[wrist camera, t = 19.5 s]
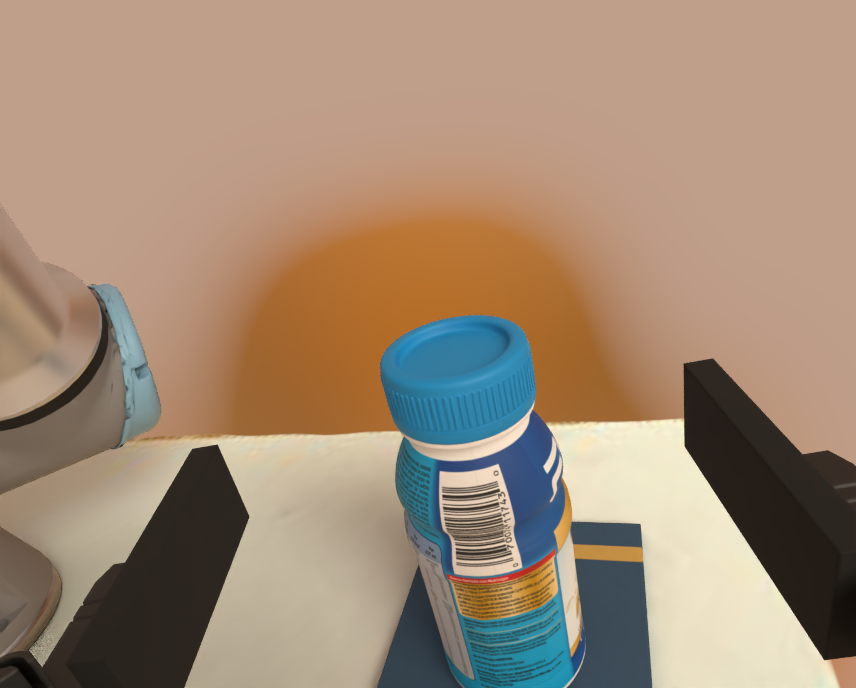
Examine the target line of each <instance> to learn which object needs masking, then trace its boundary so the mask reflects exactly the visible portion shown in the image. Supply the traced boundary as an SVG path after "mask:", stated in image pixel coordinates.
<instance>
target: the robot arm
mask: <svg viewBox="0 0 856 688" xmlns="http://www.w3.org/2000/svg"><path fill="white" fill-rule="evenodd" d="M160 416H161V404H160V400H159V396H158V392H157V389H156V385H155V382H154V380H153V376H152V373H151V371H150V369H149V367H148V362H147V359H146V357H145V352H144V349H143V346H142V344H141V341H140V338H139V335H138V333H137V330H136V327H135V325H134V322H133V320H132V317H131V315H130V312H129V310H128V308H127V305H126V303H125V301H124V299H123V297H122V295H121V293H120V291H118V289H117V288H116V287H114V286H112V285H109V284H103V285H94V284H92V285H90V286H86V285H85V284H84V283H83V281H82V280H81V279H79V278H78V277H76V276H75V275H74V274H73V273H71V272H69V271H67V270H65V269H63V268H60V267H58V266H55V265H52V264H49V263H44V262H41V261H40V260H39V259H38V258H37V256H36V255H35V253H34V252H33V250H32V249H31V247H30V246H29V244H28V243H27V241H26V240H25V238H24V237H23V235H22V234H21V232H20V231H19V229H18V228H17V227H16V225H15V224H14V222H13V221H12V219H11V218H10V216H9V215H8V213H7V212H6V210H5V209H4V207H3V206H2V204H1V203H0V494H2V493H5V492H7V491H10V490H12V489H14V488H17V487H19V486H22V485H24V484H26V483H29V482H31V481H34V480H36V479H38V478H41V477H43V476H46V475H48V474H50V473H53V472H55V471H57V470H60V469H62V468H65V467H67V466H69V465H72V464H74V463H77V462H79V461H81V460H84V459H86V458H89V457H91V456H93V455H96V454H98V453H101V452H103V451H105V450H108V449H117V448H120V447H122V446H123V445H124V444H125V443H126V442H127V441H129V440H131V439H133V438H135V437H137V436H139V435H141V434H143V433H145V432H148V431H149V430H151V429H152V428H153V427H154V426H155V425H156V424H157V423H158V421H159V419H160ZM684 436H685V448H686V449H687V451H688V452H689V454H690V455H691V457H692V458H693V460H694V461H695V463H696V464H697V466H698V468H699V469H700V471H701V472H702V474H703V475H704V477H705V478H706V480H707V481H708V483H709V484H710V486H711V487H712V489H713V491H714V492H715V494H716V495H717V497H718V498H719V500H720V501H721V503H722V504H723V506H724V507H725V509H726V510H727V512H728V513H729V515H730V517H731V518H732V520H733V521H734V523H735V524H736V526H737V527H738V529H739V530H740V532H741V533H742V535H743V536H744V538H745V539H746V541H747V543H748V544H749V546H750V547H751V549H752V550H753V552H754V553H755V555H756V556H757V558H758V559H759V561H760V562H761V564H762V566H763V567H764V569H765V570H766V572H767V573H768V575H769V576H770V578H771V579H772V581H773V582H774V584H775V585H776V587H777V588H778V590H779V592H780V593H781V595H782V596H783V598H784V599H785V601H786V602H787V604H788V605H789V607H790V608H791V610H792V611H793V613H794V614H795V616H796V618H797V619H798V621H799V622H800V624H801V625H802V627H803V628H804V630H805V631H806V633H807V634H808V636H809V637H810V639H811V641H812V642H813V644H814V645H815V647H816V648H817V650H818V651H819V653H820V654H821V656H822V657H823V659H824V660H830V659H837V658H845V657H853V656H856V466H855V465H854V464H853V463H851V462H849V461H847V460H845V459H843V458H841V457H839V456H837V455H836V454H834V453H832V452H830V451H821V452H815V453H809V454H801V452H800V451H799V450H798V449H797V448H796V447H795V446H794V445H793V444H792V443H791V442H790V441H789V440H788V439H787V437H786V436H785V435H784V434H783V433H782V432H781V431H780V430H779V429H778V428H777V427H776V426H775V425H774V423H773V422H772V421H771V420H770V419H769V418H768V417H767V416H766V415H765V414H764V413H763V412H762V411H761V409H760V408H759V407H758V406H757V405H756V404H755V403H754V402H753V401H752V400H751V399H750V398H749V397H748V396H747V394H745V392H744V391H743V390H742V389H741V388H740V387H739V386H738V385H737V384H736V383H735V382H734V381H733V379H732V378H730V376H729V375H728V374H727V373H726V372H725V371H724V370H723V369H722V368H721V367H720V366H719V365H718V364H717V362H716V361H715V360H714V359H707V360H702V361H697V362H690V363H684ZM248 519H249V515H248V512H247V510H246V508H245V506H244V503H243V501H242V499H241V496H240V494H239V492H238V490H237V487H236V485H235V483H234V481H233V478H232V476H231V474H230V472H229V469H228V467H227V465H226V463H225V460H224V458H223V456H222V454H221V451H220V449H219V447H218V445H212V446H206V447H201V448H195V449H192V450H191V452H190V454H189V455H188V457H187V459H186V460H185V462H184V464H183V465H182V467H181V469H180V471H179V472H178V474H177V476H176V477H175V479H174V481H173V482H172V484H171V486H170V487H169V489H168V491H167V493H166V494H165V496H164V498H163V499H162V501H161V503H160V504H159V506H158V508H157V509H156V511H155V513H154V515H153V516H152V518H151V520H150V521H149V523H148V525H147V526H146V528H145V530H144V532H143V533H142V535H141V537H140V538H139V540H138V542H137V543H136V545H135V547H134V548H133V550H132V552H131V554H130V555H129V557H128V559H127V560H126V562H125V563H120V564H114V565H113V566H112V567H111V568H110V569H109V570H108V571H107V572H106V573H105V574H104V575H103V576H102V577H101V578H100V579H98V580H97V581H96V582H95V584H94V585H93V587H92V589H91V590H90V592H89V594H88V595H87V597H86V598H85V600H84V602H83V606H80V608H79V610H78V611H77V613H76V614H75V616H74V618H73V619H74V620H73V622H70V624H69V626H68V627H67V629H66V630H65V632H64V634H63V635H62V637H61V638H60V640H59V642H58V643H57V645H56V646H55V648H54V650H53V651H52V653H51V654H50V656H49V658H48V659H47V661H46V662H45V664H44V666H43V667H41V665H40V664H39V663H38V662H37V660H36V659H35V658H34V656H33V655H32V654H31V652H27V650H28V649H29V648H30V647H31V646H32V644H33V643H34V642H35V641H36V640H37V638H38V637H39V636H40V634H41V633H42V632H43V630H44V629H45V627H46V626H47V624H48V623H49V621H50V619H51V618H52V616H53V614H54V612H55V610H56V607H57V605H58V602H59V599H60V595H61V580H60V577H59V575H58V573H57V572H56V570H55V569H54V567H53V566H52V564H51V563H50V561H49V560H48V559H47V558H46V557H45V556H44V555H43V554H42V553H41V552H39V551H38V550H36V549H35V548H33V547H32V546H30V545H28V544H27V543H25V542H24V541H22V540H20V539H19V538H17V537H16V536H14V535H12V534H11V533H9V532H8V531H6V530H4V529H3V528H1V527H0V688H184V687H185V684H186V682H187V679H188V676H189V674H190V671H191V669H192V666H193V663H194V661H195V658H196V656H197V653H198V650H199V648H200V645H201V642H202V640H203V637H204V635H205V632H206V629H207V627H208V624H209V621H210V619H211V616H212V614H213V611H214V608H215V606H216V603H217V600H218V598H219V595H220V593H221V590H222V587H223V585H224V582H225V579H226V577H227V574H228V572H229V569H230V566H231V564H232V561H233V558H234V556H235V553H236V551H237V548H238V545H239V543H240V540H241V537H242V535H243V532H244V530H245V527H246V524H247V522H248Z"/></svg>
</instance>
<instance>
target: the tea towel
mask: <svg viewBox="0 0 856 688" xmlns="http://www.w3.org/2000/svg"><path fill="white" fill-rule="evenodd" d="M571 533H572V542H573V550H574V558H575V566H576V574H577V582H578V590H579V598H580V605H581V612H582V618H583V623H584V629H585V638H586V647H585V654H584V659H583V662H582V665H581V667H580V669H579V672H578V673H577V675H576V677H575V678H574V680H573V681H572V682H571V684H570V685H569V686H568V687H567V688H652V677H651V663H650V650H649V636H648V622H647V608H646V594H645V580H644V566H643V552H642V538H641V525H640V524H626V523H595V522H571ZM377 688H463V687H462V686H461V685H460V684H459V682H458V681H457V680H456V678H455V677H454V675H453V673H452V672H451V670H450V667H449V665H448V662H447V659H446V655H445V652H444V647H443V642H442V639H441V636H440V632H439V629H438V626H437V622H436V619H435V616H434V612H433V609H432V606H431V603H430V599H429V596H428V593H427V589H426V586H425V583H424V580H423V576H422V573H421V570H420V567H419V565H418V568H417V571H416V574H415V577H414V580H413V583H412V586H411V589H410V592H409V595H408V598H407V601H406V604H405V607H404V609H403V612H402V615H401V618H400V621H399V624H398V627H397V630H396V633H395V636H394V639H393V642H392V645H391V648H390V651H389V654H388V657H387V660H386V663H385V666H384V669H383V672H382V675H381V678H380V681H379V684H378V686H377Z"/></svg>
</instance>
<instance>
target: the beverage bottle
mask: <svg viewBox="0 0 856 688" xmlns="http://www.w3.org/2000/svg"><path fill="white" fill-rule="evenodd" d="M380 370H381V381H382V384H383V387H384V391H385V394H386V399H387V402H388V406H389V409H390V411H391V415H392V418H393V421H394V423H395V425H396V426H397V428H398V429H399V431H400V432H401V434H402V435H403V436H404V437H403V440H402V443H401V445H400V449H399V452H398V457H397V462H396V474H395V481H396V490H397V494H398V497H399V500H400V502H401V504H402V505H403V507H404V508H405V512H404V521H405V528H406V533H407V537H408V540H409V543H410V546H411V548H412V550H413V552H414V554H415V556H416V557H417V560H418V563H419V567H420V570H421V573H422V576H423V580H424V583H425V586H426V589H427V593H428V596H429V599H430V603H431V606H432V609H433V612H434V616H435V619H436V622H437V626H438V629H439V632H440V636H441V639H442V642H443V647H444V652H445V655H446V659H447V662H448V665H449V667H450V670H451V672H452V673H453V675H454V677H455V678H456V680H457V681H458V682H459V684H460V685H461V686H462V687H463V688H567V687H568V686H569V685H570V684H571V682H572V681H573V680H574V678H575V677H576V675H577V673H578V672H579V669H580V667H581V665H582V662H583V659H584V654H585V647H586V638H585V629H584V623H583V618H582V612H581V605H580V598H579V590H578V582H577V574H576V566H575V558H574V550H573V542H572V533H571V522H572V508H571V501H570V497H569V493H568V489H567V487H566V484H565V482H564V480H563V478H562V473H563V460H562V455H561V452H560V449H559V446H558V444H557V442H556V440H555V438H554V436H553V434H552V433H551V431H550V430H549V428H548V427H547V425H546V424H545V423H544V421H543V420H542V419H541V418H540V417H539V416H538V414H537V413H535V412H534V411H533V407H534V403H535V396H536V387H535V377H534V370H533V363H532V356H531V349H530V346H529V343H528V341H527V338H526V335H525V333H524V332H523V330H522V329H521V328H520V327H519V326H518V325H516V324H515V323H513V322H511V321H508V320H506V319H503V318H499V317H493V316H483V315H470V316H459V317H452V318H447V319H442V320H438V321H435V322H431V323H429V324H426V325H423V326H421V327H418V328H416V329H414V330H412V331H410V332H408V333H406V334H404V335H403V336H401V337H400V338H398V339H397V340H396V341H395V342H393V343H392V344H391V345H390V346H389V347H388V348H387V350H386V351H385V352H384V354H383V356H382V359H381V363H380Z"/></svg>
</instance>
